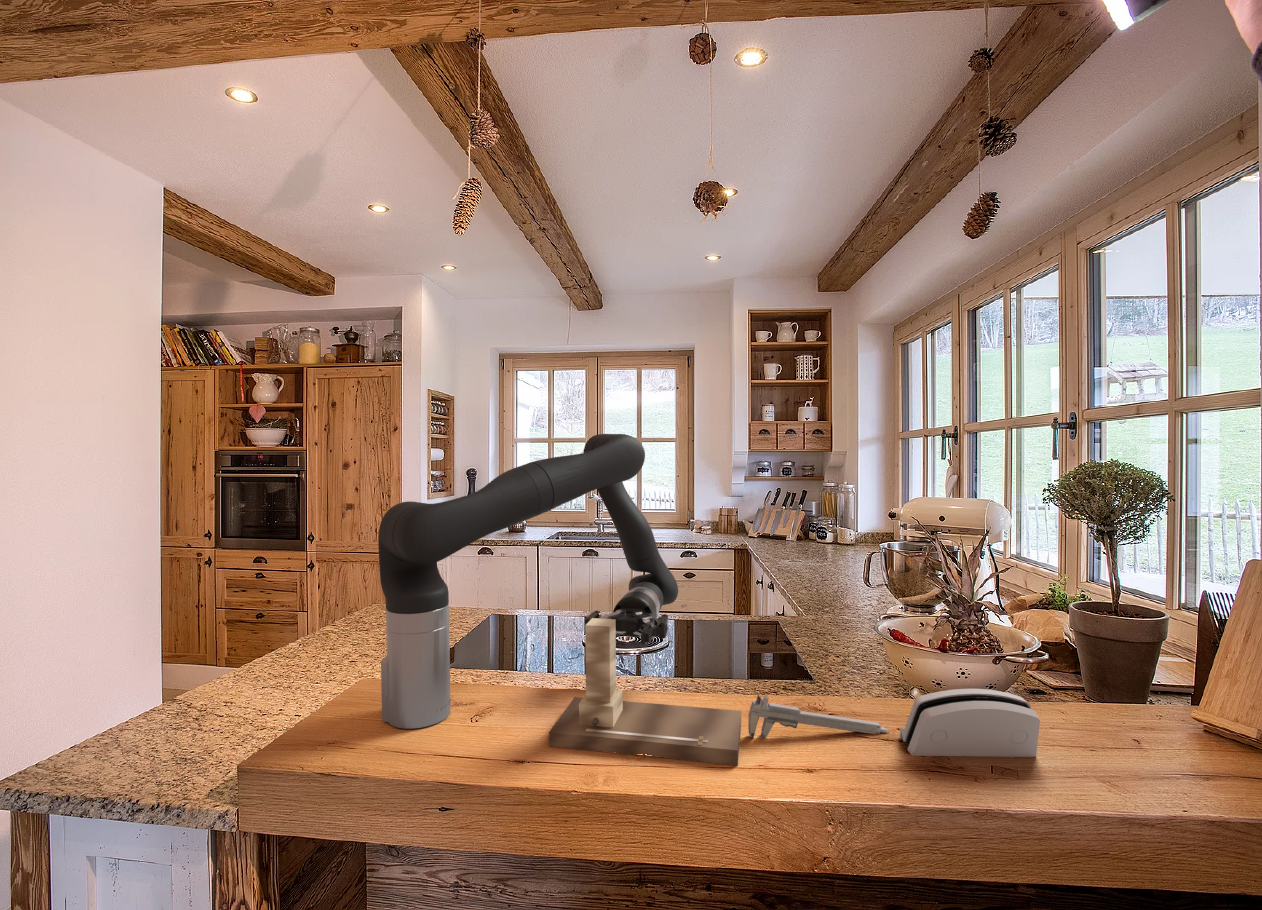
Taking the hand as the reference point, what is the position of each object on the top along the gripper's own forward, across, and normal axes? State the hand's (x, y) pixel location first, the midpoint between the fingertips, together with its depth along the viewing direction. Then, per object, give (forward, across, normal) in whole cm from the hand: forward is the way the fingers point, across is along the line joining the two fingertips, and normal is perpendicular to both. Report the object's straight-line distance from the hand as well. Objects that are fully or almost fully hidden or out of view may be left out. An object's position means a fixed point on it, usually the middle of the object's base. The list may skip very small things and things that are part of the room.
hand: (617, 637), depth 101 cm
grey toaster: (+7, +51, +11) cm, 52 cm away
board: (+11, +7, +10) cm, 16 cm away
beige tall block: (+11, 0, +8) cm, 14 cm away
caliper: (+6, +31, +11) cm, 33 cm away
